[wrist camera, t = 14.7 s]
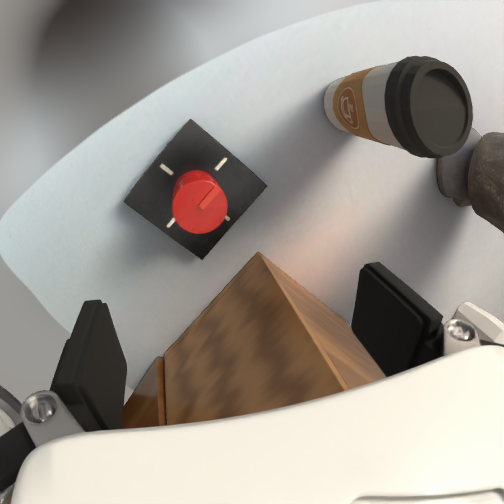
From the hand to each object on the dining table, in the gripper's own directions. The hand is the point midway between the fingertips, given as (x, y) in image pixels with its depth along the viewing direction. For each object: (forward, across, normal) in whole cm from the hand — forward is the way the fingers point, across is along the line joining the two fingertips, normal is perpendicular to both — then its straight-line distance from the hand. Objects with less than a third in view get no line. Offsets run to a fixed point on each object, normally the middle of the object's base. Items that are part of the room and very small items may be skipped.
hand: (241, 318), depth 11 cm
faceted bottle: (+23, -47, +26) cm, 59 cm away
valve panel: (+23, 0, 0) cm, 23 cm away
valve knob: (+21, 0, 0) cm, 21 cm away
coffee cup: (+23, -16, -8) cm, 30 cm away
